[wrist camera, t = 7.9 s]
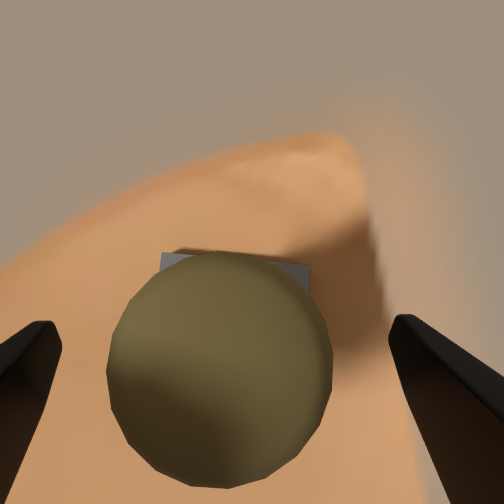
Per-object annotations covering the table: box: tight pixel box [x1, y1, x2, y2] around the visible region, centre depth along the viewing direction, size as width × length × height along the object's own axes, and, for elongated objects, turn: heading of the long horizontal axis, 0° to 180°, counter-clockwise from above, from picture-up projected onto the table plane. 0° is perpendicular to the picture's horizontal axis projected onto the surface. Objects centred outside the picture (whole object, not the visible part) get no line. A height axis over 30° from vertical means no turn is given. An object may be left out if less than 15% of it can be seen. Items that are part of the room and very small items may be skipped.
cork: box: [106, 251, 333, 489], centre depth 12 cm, size 6×6×11 cm
